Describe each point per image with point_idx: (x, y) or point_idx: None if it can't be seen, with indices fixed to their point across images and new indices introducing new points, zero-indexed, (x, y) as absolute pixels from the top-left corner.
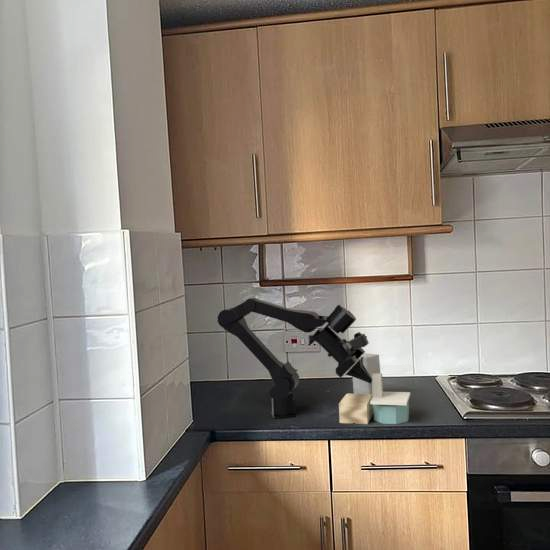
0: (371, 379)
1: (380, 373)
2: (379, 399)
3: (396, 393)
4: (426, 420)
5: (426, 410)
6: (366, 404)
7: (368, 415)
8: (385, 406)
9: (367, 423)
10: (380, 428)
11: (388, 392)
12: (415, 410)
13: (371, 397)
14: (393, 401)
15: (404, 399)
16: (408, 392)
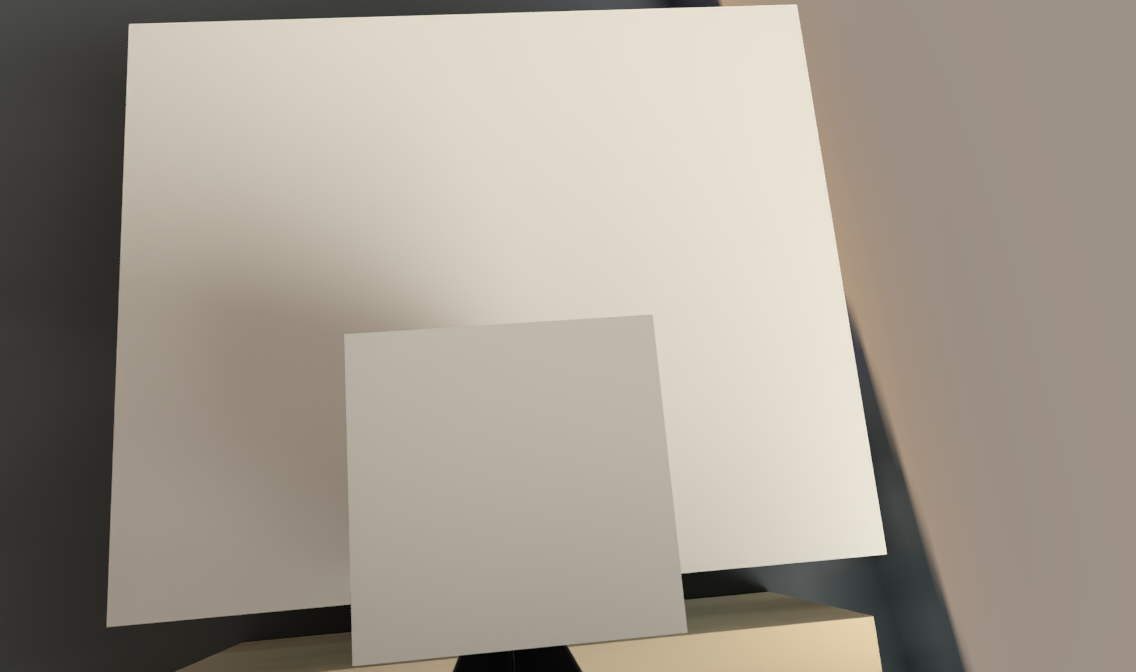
0: (571, 653)
1: (368, 384)
2: (713, 428)
3: (243, 224)
4: (468, 4)
5: (60, 37)
6: (869, 621)
7: (697, 607)
8: None
9: (772, 592)
10: (876, 408)
11: (179, 374)
12: (71, 152)
13: (341, 667)
14: (779, 188)
15: (626, 51)
16: (149, 48)
